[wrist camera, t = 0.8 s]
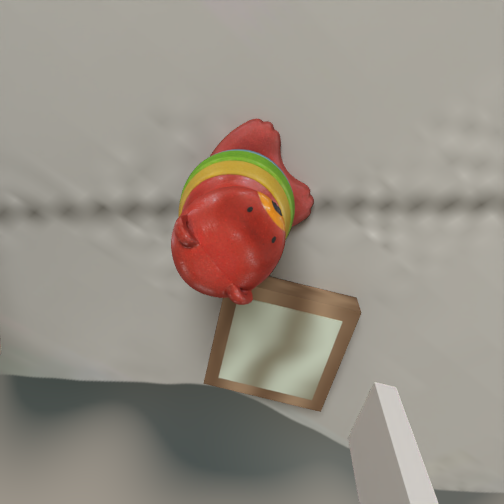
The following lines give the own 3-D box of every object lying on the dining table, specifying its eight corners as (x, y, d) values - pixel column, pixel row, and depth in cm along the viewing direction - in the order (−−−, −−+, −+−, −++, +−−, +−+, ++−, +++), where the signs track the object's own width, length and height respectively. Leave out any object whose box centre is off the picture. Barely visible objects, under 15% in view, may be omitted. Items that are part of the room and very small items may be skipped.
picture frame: (208, 366, 46) (203, 384, 43) (231, 267, 41) (226, 280, 38) (318, 392, 46) (320, 412, 43) (356, 297, 41) (361, 313, 38)
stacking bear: (320, 208, 37) (346, 300, 21) (235, 254, 40) (198, 366, 24) (265, 109, 34) (245, 125, 18) (177, 165, 37) (88, 225, 21)
